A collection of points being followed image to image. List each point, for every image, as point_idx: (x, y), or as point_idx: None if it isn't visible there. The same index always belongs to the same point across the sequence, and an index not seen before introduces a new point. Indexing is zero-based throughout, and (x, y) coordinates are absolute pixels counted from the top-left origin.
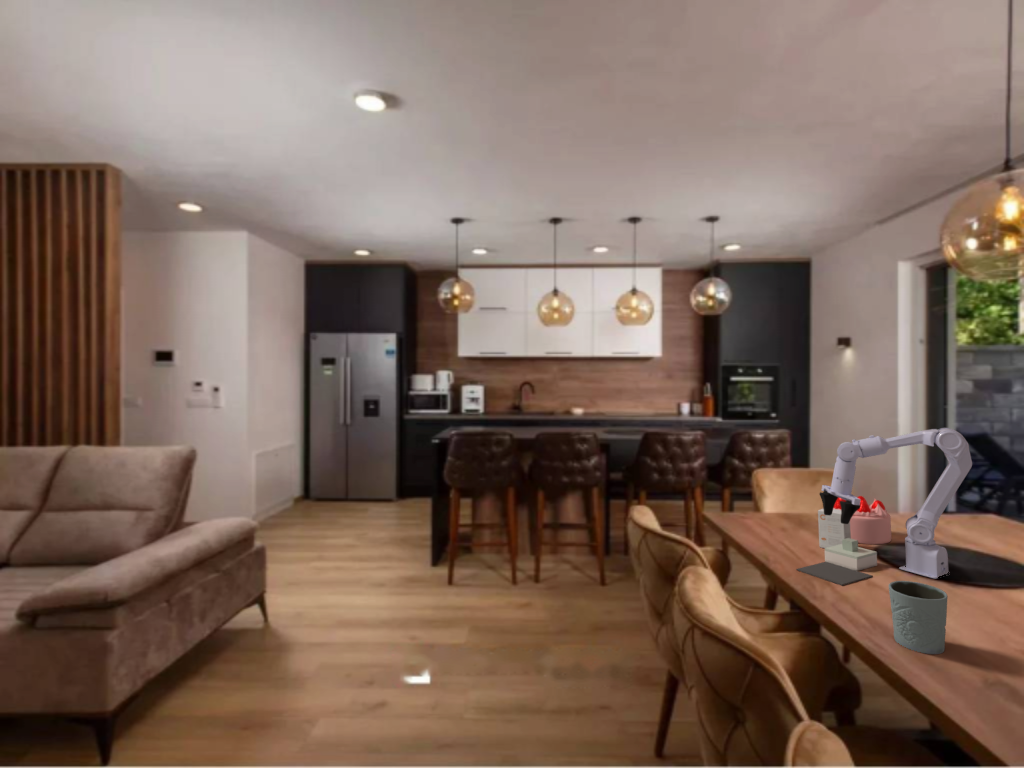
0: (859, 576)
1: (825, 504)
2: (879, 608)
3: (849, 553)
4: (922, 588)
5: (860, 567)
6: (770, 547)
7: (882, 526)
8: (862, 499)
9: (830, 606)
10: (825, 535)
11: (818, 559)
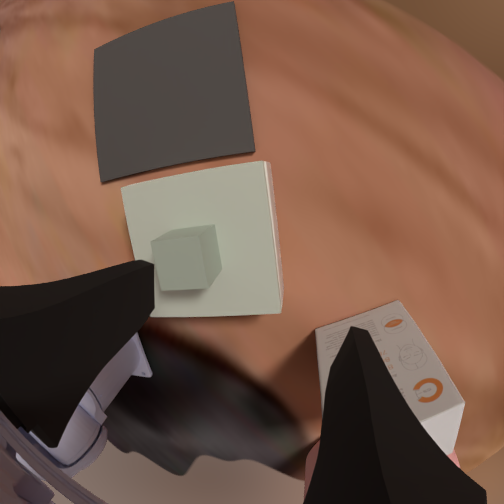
0: (107, 136)
1: (363, 405)
2: (24, 58)
3: (161, 198)
4: None
5: None
6: (472, 131)
7: (306, 490)
8: None
9: None
10: (391, 334)
11: (299, 160)
